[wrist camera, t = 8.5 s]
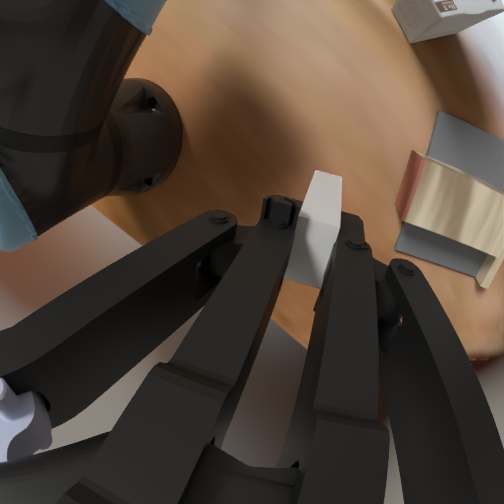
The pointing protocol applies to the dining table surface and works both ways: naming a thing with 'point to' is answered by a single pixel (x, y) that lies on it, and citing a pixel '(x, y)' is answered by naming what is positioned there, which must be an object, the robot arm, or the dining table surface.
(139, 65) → the dining table surface
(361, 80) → the dining table surface
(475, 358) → the dining table surface
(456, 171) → the beech block
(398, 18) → the skincare box
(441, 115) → the slate mat
